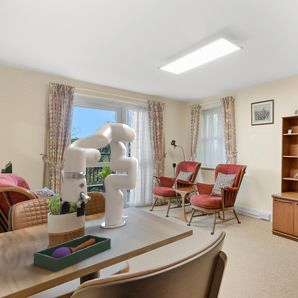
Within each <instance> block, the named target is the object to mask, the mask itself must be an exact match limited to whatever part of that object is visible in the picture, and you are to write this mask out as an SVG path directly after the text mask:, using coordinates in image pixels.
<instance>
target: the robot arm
mask: <svg viewBox="0 0 298 298" xmlns="http://www.w3.org/2000/svg"><path fill="white" fill-rule="evenodd" d="M136 139H137V132H136V131H135V129H133V128H132V127H131V126H129V125H128V124H126V123H120V122H119V123H118V122H105V123H103V124H101V125H100V126H99V127H98V128H97V130H95V132H93V134H90V135H87V136H84V137H82V138H79V139H76V140H74V141H73V142H71V144H69V145H68V146H67V147H66V148H65V149H64V151H63V155H62V156H63V159H64V163H63V164H64V165H63V167H64V168H63V182H62V188H61V192H60V193H59V194H58V196H59V201H60V208H61V209H60V215H65V214H69V213H70V212H71V211H70V210H71V203H74V204H76V206H77V207H76V214H75V216H76V217H77V218H79V217H83V216H85V215H86V207H87V205H88V202H89V200H90V196H88V186H87V185H88V183H87V179H86V171H87V170H86V168H87V164H88V165H89V164H90V165H93V164H97V163H98V162H99V161H100V160H101V158H102V157H101V156H102V154H101V152H100V150H99V149H102V148H106V147H107V146H108V145H109V147H110V157H109V170H110V171H111V172H113V173H111V174H108V175H106V176H105V178H104V183H103V184H104V189H105V202H104V203H105V204H104V222H102V223H101V225H100V226H101V228H103V229H116V228H120V227H123V226H125V225H126V221H125V220H127V219H129V217H130V216H129V215H124V213H123V212H124V193H123V192H122V191H121V190H123V191H125V190H126V191H127V190H128V191H129V190H130V191H131V190H134V189H135V188H136V187H137V181H138V171H139V161H138V159H137V158H136V157H133V156H127V152H128V151H127V147H126V145H125V144H124V143H134V142H135V141H136ZM114 172H115V173H114Z"/></svg>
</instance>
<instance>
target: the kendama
mask: <svg viewBox="0 0 298 298" xmlns="http://www.w3.org/2000/svg"><path fill="white" fill-rule="evenodd" d="M95 243H96V241H95V239H90V240H88V241H87V242H85V243H83V244H81V245H79V246H78V247H76V248H71V247H67V248H65V247H61V248H59V249H56V250H55V251H54V252H53V254H52V257H54V258H58V259H59V258H61V257H64V256H66V255H69V254H71V253H74V252H75V251H76V250H79V249H83V248H86V247H89V246H92V245H95Z"/></svg>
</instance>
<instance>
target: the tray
mask: <svg viewBox="0 0 298 298" xmlns="http://www.w3.org/2000/svg"><path fill="white" fill-rule="evenodd" d="M90 239H95V241H96V243H95V245H92V246H89V247H86V248H83V249H79V250H76V251H75V252H74V253H71V254H69V255H66V256H64V257H61V258H59V259H58V258H54V257H52V254H53V252H54V251H55V250H56V249H59V248H61V247H65V248H67V247H71V248H76V247H78V246H79V245H81V244H83V243H85V242H87V241H88V240H90ZM111 243H112V239H111V238H109V237H105V236H99V235H95V234H91V233H89V234H86V235H83V236H80V237H77V238H74V239H71V240H68V241H65V242H62V243H60V244H56V245H54V246H53V245H52V246H50V247H47V248H44V249H41V250H39V251H35V252H33V264H32V265H34V266H36V267H37V266H38V267H40V268H43V269H47V270H51V271H54V272H59V271H62V270H64V269H66V268H69V267H71V266H73V265H76V264H78V263H81V262H82V261H84V260H87V259H89V258H92V257H94V256H96V255H99V254H101V253H103V252H105V251H107V250H110V249H111V245H112V244H111Z"/></svg>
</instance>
